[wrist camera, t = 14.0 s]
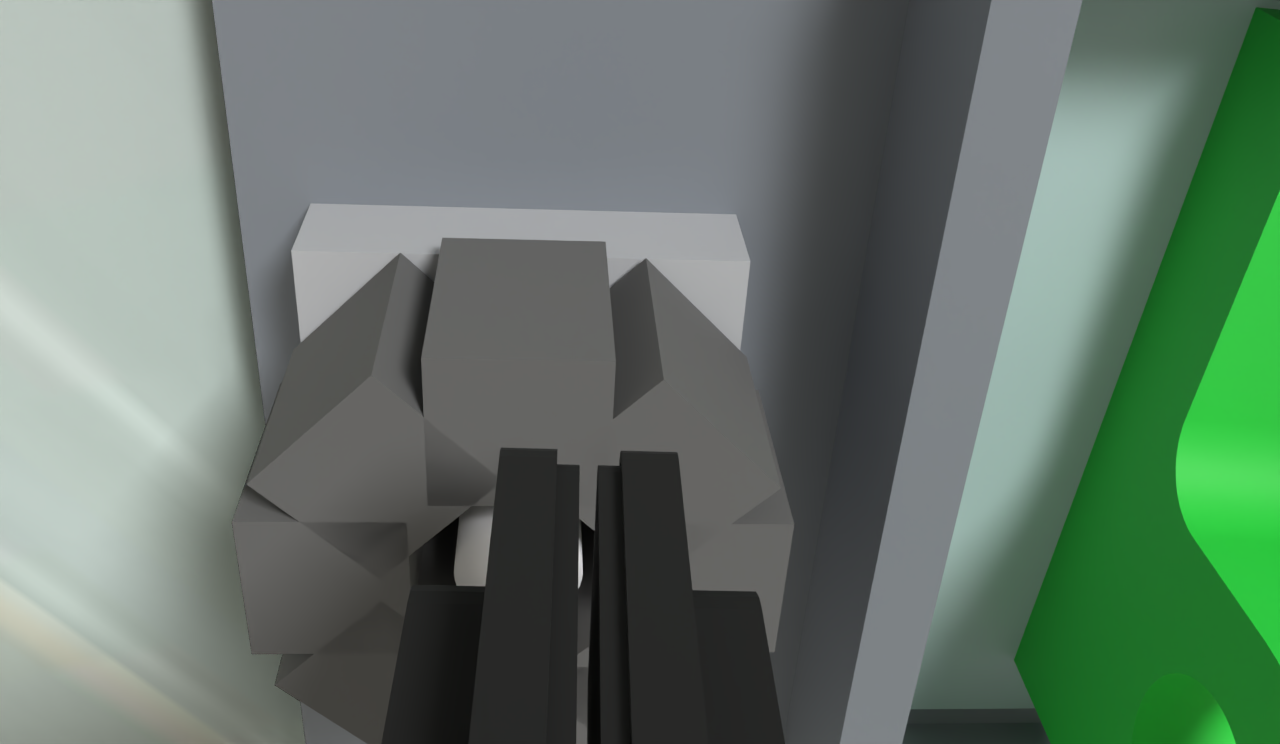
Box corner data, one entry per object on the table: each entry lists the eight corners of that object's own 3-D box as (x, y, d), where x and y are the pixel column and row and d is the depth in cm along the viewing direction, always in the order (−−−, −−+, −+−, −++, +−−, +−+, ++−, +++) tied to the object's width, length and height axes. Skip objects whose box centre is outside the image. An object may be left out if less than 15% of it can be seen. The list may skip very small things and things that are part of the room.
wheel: (777, 245, 16) (819, 364, 14) (729, 619, 20) (756, 770, 17) (263, 233, 16) (206, 355, 13) (308, 620, 19) (270, 776, 16)
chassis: (1781, -161, 17) (2236, -76, 12) (1339, 716, 26) (1507, 951, 21) (202, -247, 15) (52, -188, 10) (316, 724, 24) (262, 982, 19)
